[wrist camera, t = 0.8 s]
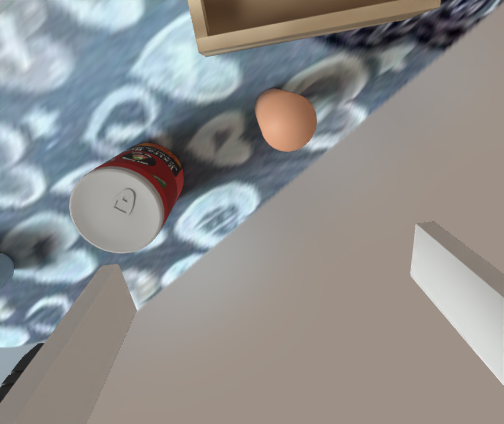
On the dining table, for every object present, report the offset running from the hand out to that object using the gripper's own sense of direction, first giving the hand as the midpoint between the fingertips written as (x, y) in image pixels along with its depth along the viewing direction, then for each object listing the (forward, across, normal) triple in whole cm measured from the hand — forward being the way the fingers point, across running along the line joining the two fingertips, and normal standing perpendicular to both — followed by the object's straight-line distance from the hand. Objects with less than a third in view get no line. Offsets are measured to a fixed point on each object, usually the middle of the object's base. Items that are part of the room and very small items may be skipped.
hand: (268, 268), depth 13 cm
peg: (+23, +3, +4) cm, 23 cm away
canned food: (+23, -12, -1) cm, 26 cm away
